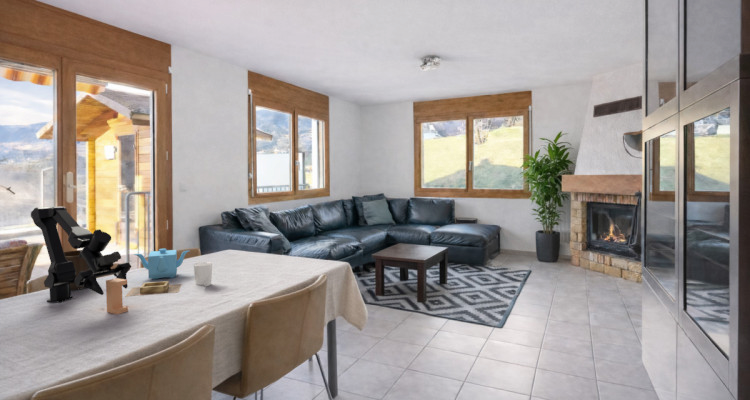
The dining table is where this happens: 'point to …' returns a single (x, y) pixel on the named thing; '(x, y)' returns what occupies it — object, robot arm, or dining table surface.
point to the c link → (115, 296)
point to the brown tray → (154, 289)
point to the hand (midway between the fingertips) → (115, 291)
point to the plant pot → (76, 265)
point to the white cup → (203, 273)
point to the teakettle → (162, 263)
